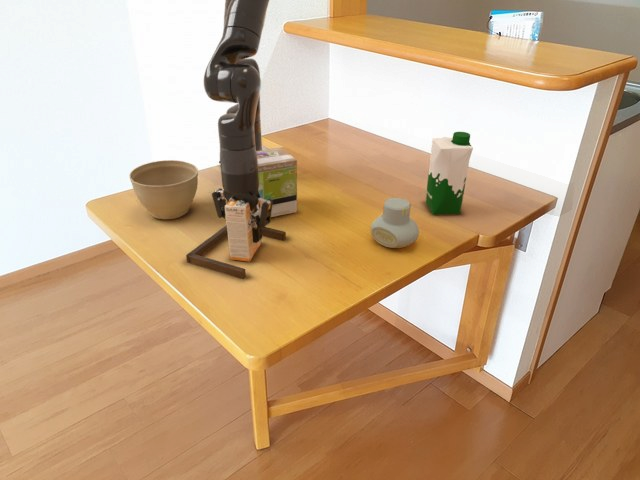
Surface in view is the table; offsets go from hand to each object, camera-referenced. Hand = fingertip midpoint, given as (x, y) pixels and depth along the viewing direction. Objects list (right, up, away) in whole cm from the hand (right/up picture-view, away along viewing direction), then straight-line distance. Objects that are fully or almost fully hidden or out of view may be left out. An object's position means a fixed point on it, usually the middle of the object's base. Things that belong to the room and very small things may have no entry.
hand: (245, 238), depth 112 cm
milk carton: (+48, +8, +21) cm, 53 cm away
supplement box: (0, -3, +2) cm, 4 cm away
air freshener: (+34, -1, +6) cm, 34 cm away
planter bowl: (-22, +7, +18) cm, 29 cm away
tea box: (+2, +7, +19) cm, 21 cm away
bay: (-1, -3, +2) cm, 4 cm away
